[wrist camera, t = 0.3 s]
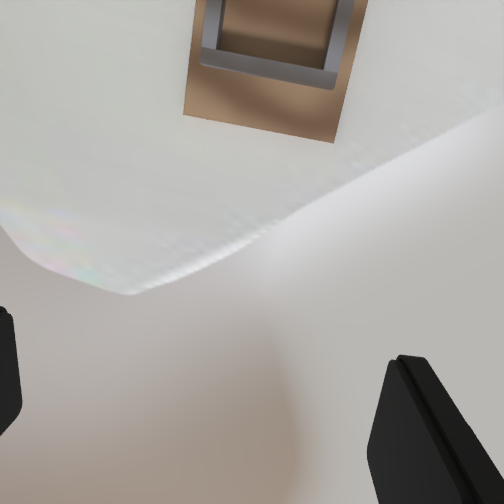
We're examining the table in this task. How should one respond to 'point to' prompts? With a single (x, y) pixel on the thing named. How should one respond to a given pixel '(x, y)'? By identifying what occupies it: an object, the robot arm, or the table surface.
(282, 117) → the walnut board
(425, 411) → the robot arm
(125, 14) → the table surface
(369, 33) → the table surface
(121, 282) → the table surface
